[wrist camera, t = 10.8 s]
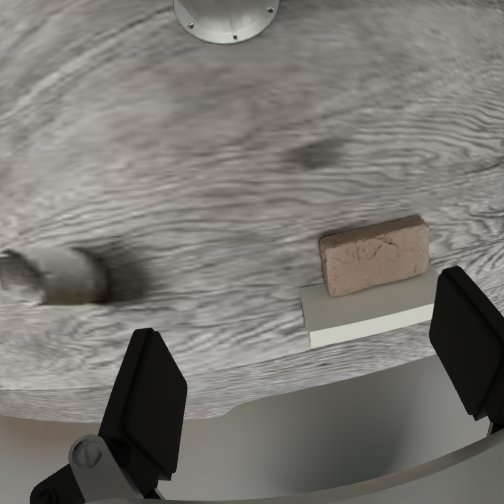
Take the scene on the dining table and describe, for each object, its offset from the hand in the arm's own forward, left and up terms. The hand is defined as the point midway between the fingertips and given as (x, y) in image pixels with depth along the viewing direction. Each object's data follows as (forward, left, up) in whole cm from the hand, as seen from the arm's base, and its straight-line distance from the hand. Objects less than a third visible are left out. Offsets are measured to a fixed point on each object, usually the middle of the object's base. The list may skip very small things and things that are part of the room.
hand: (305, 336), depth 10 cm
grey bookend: (+26, +13, -33) cm, 44 cm away
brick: (+18, +14, -34) cm, 40 cm away
